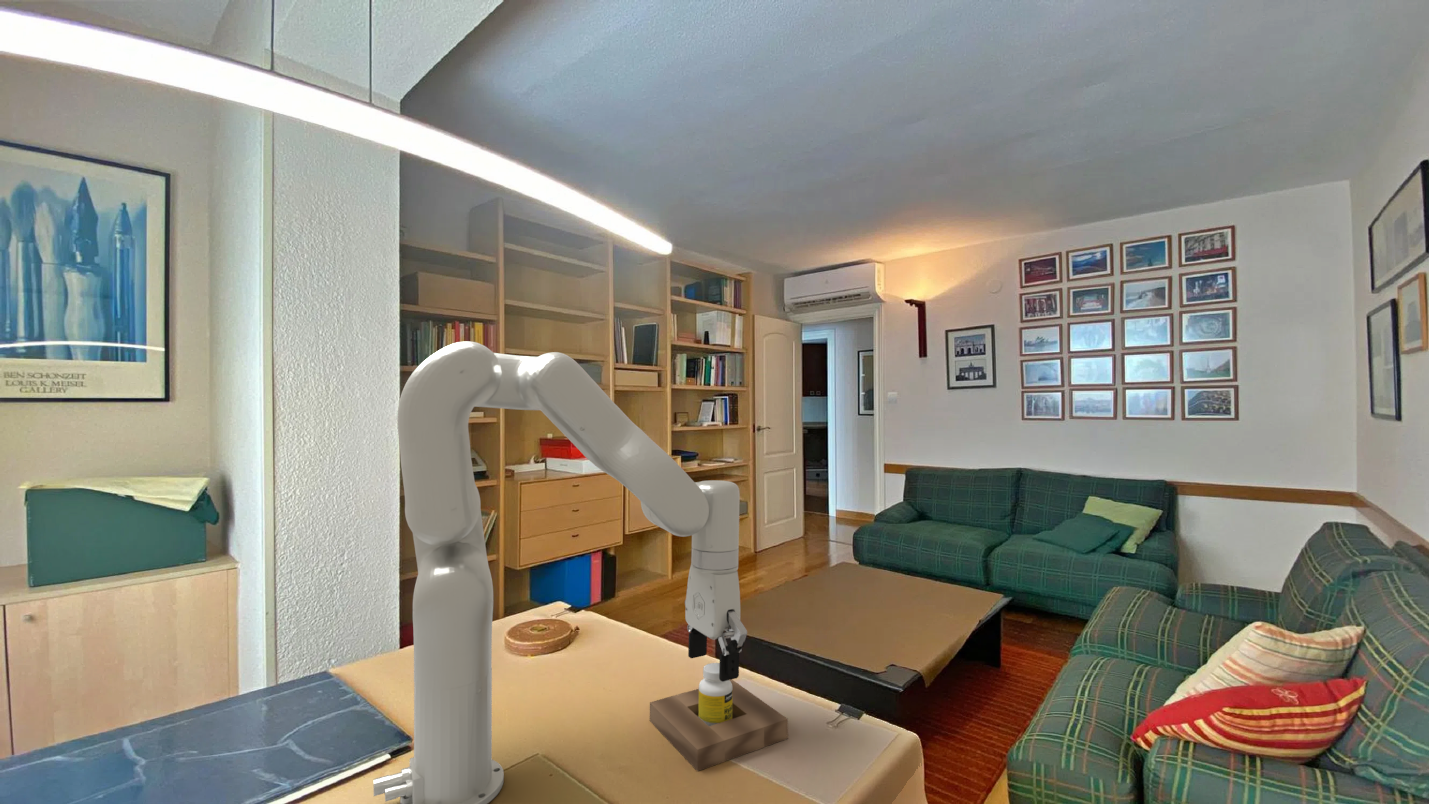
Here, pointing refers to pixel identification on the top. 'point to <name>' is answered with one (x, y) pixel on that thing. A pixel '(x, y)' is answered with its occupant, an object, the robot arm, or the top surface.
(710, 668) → the supplement bottle
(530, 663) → the top surface
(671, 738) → the socket block
